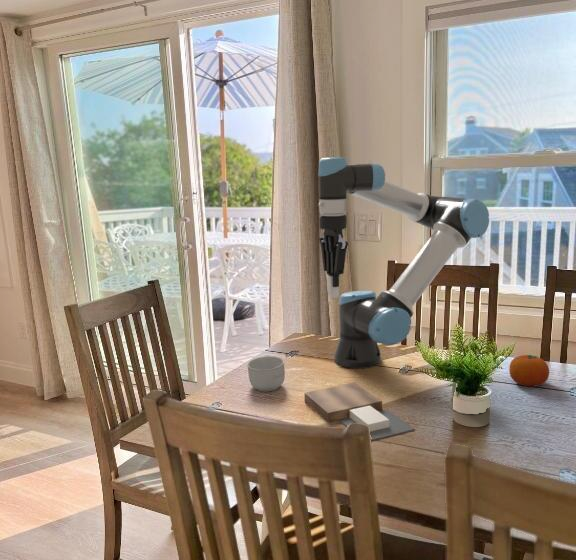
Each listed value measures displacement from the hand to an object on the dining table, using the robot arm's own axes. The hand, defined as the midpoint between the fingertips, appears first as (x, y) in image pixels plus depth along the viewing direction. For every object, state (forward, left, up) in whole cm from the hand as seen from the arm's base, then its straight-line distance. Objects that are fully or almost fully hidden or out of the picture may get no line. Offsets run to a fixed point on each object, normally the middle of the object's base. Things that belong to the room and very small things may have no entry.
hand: (333, 297), depth 159 cm
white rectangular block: (+4, +26, -26) cm, 37 cm away
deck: (+5, +14, -26) cm, 30 cm away
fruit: (-50, +25, -27) cm, 62 cm away
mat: (+3, +28, -26) cm, 39 cm away
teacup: (+18, -8, -27) cm, 33 cm away
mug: (-26, +28, -27) cm, 47 cm away
